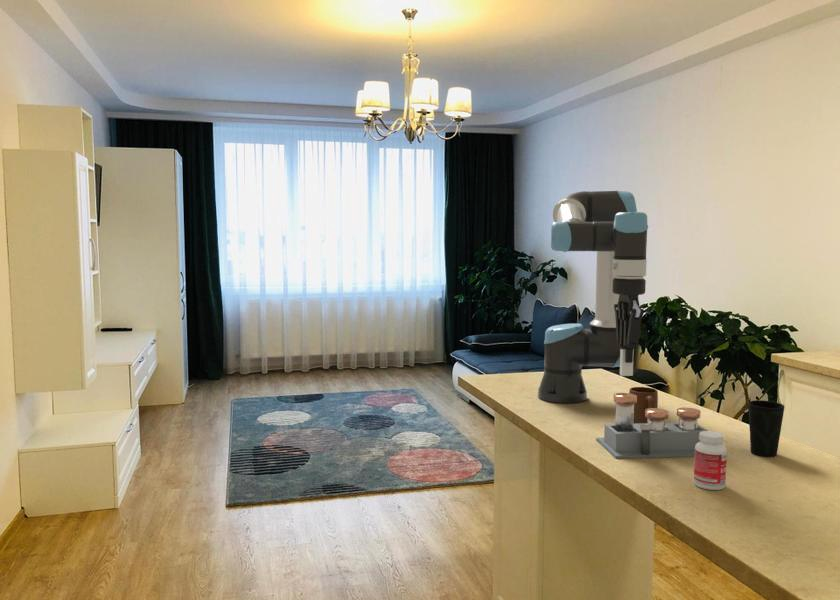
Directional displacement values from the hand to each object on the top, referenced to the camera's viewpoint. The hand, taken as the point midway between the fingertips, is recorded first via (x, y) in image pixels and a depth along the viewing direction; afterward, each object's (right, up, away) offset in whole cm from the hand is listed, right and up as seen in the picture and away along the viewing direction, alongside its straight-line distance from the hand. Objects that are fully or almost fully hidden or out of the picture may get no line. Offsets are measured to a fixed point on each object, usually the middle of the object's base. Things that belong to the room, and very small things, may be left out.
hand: (626, 375), depth 166 cm
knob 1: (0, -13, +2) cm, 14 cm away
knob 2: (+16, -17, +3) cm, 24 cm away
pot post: (+3, -18, -3) cm, 19 cm away
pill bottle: (+11, -21, -22) cm, 32 cm away
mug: (+12, -16, +22) cm, 30 cm away
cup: (+32, -19, -2) cm, 37 cm away
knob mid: (+8, -17, +3) cm, 19 cm away
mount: (+8, -18, +3) cm, 20 cm away
